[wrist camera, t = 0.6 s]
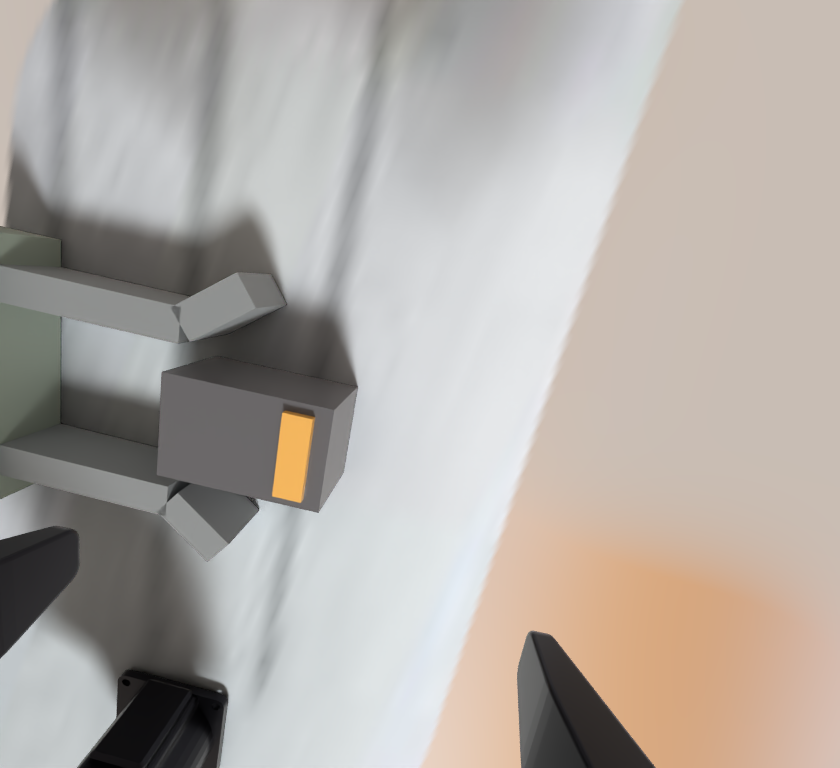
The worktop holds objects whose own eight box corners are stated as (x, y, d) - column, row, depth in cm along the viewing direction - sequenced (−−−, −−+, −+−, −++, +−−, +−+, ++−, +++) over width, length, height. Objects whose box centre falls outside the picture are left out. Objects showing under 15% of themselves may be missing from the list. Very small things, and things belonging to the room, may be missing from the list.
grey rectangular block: (344, 471, 21) (315, 516, 17) (211, 440, 22) (151, 478, 17) (358, 386, 20) (332, 412, 16) (218, 355, 20) (156, 373, 16)
